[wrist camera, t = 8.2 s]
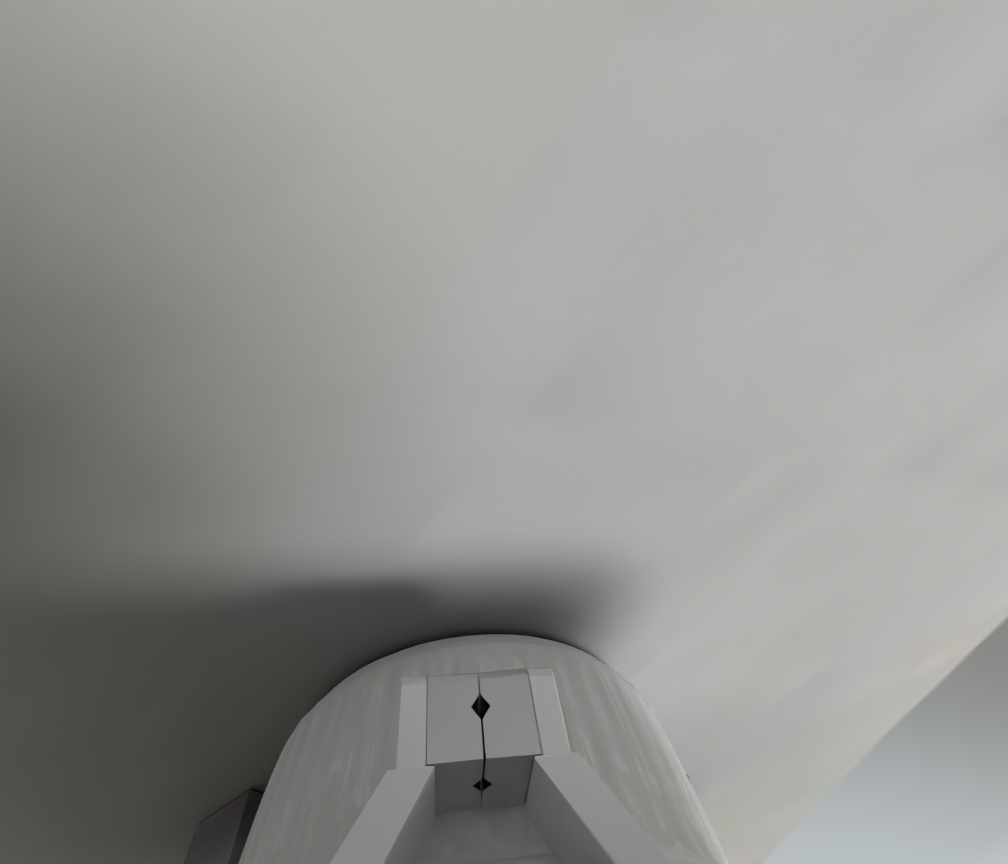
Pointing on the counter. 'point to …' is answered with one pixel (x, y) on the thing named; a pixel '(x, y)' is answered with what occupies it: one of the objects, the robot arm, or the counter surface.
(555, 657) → the ramekin
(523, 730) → the robot arm
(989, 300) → the counter surface
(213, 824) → the walnut shelf
